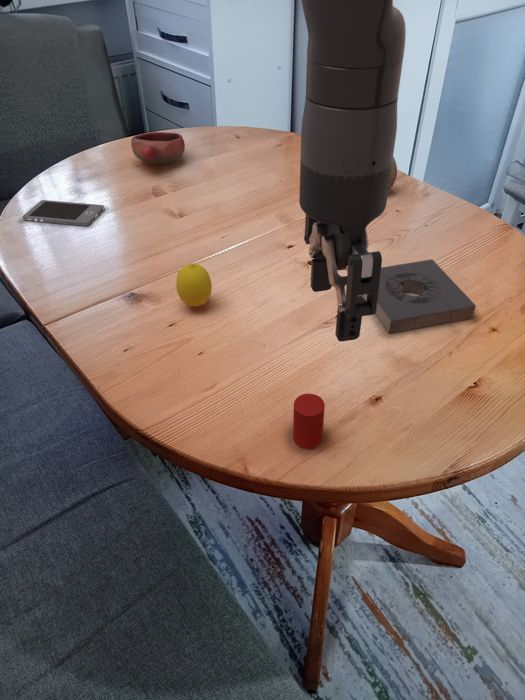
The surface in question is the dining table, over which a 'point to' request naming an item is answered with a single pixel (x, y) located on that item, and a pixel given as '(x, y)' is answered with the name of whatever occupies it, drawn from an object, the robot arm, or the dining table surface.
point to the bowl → (158, 147)
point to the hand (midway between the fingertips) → (333, 312)
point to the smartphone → (64, 212)
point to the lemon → (193, 285)
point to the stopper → (308, 421)
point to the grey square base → (419, 297)
